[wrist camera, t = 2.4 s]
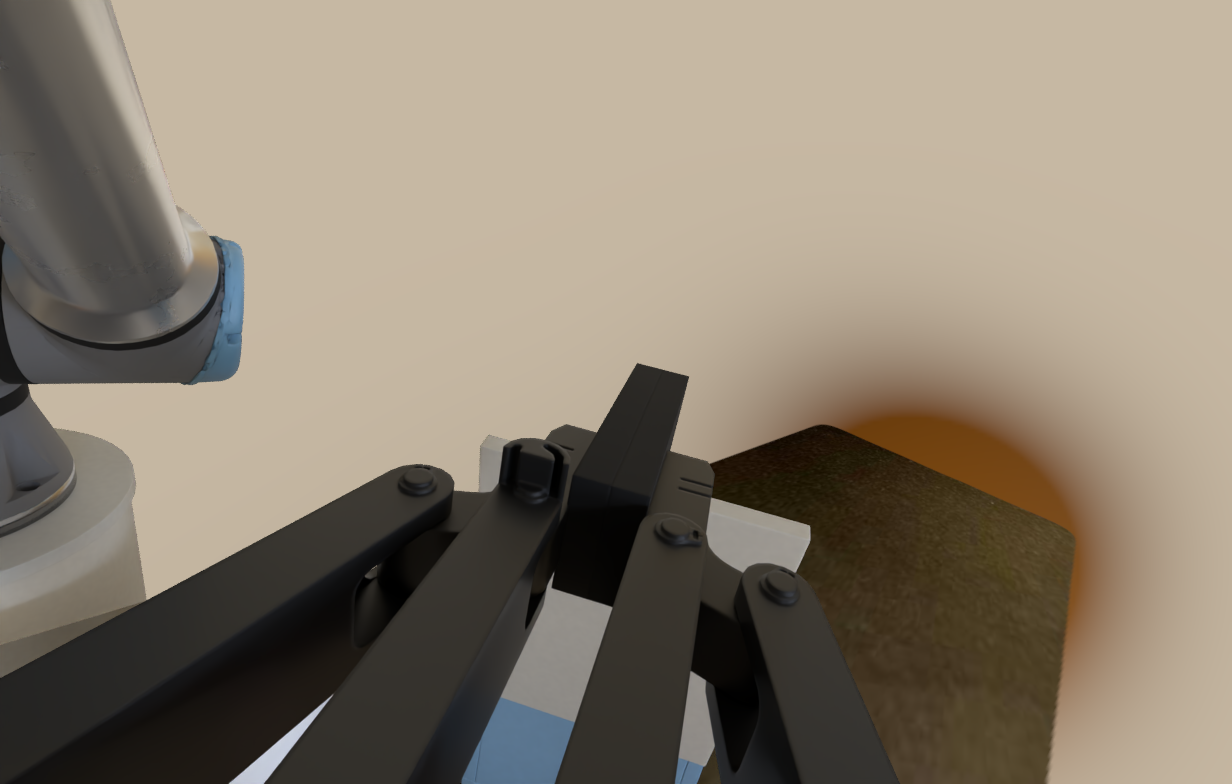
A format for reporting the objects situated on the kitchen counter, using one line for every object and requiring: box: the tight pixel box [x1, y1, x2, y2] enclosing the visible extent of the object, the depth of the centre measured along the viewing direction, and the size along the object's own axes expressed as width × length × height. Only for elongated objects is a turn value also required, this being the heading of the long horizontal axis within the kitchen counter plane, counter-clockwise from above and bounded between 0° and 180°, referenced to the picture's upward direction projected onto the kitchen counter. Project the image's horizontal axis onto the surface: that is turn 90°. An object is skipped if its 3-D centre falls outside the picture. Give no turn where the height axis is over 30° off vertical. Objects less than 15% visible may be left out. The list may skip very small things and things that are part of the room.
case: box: [461, 697, 703, 784], centre depth 41 cm, size 16×13×8 cm
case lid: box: [479, 435, 810, 766], centre depth 28 cm, size 16×13×1 cm
